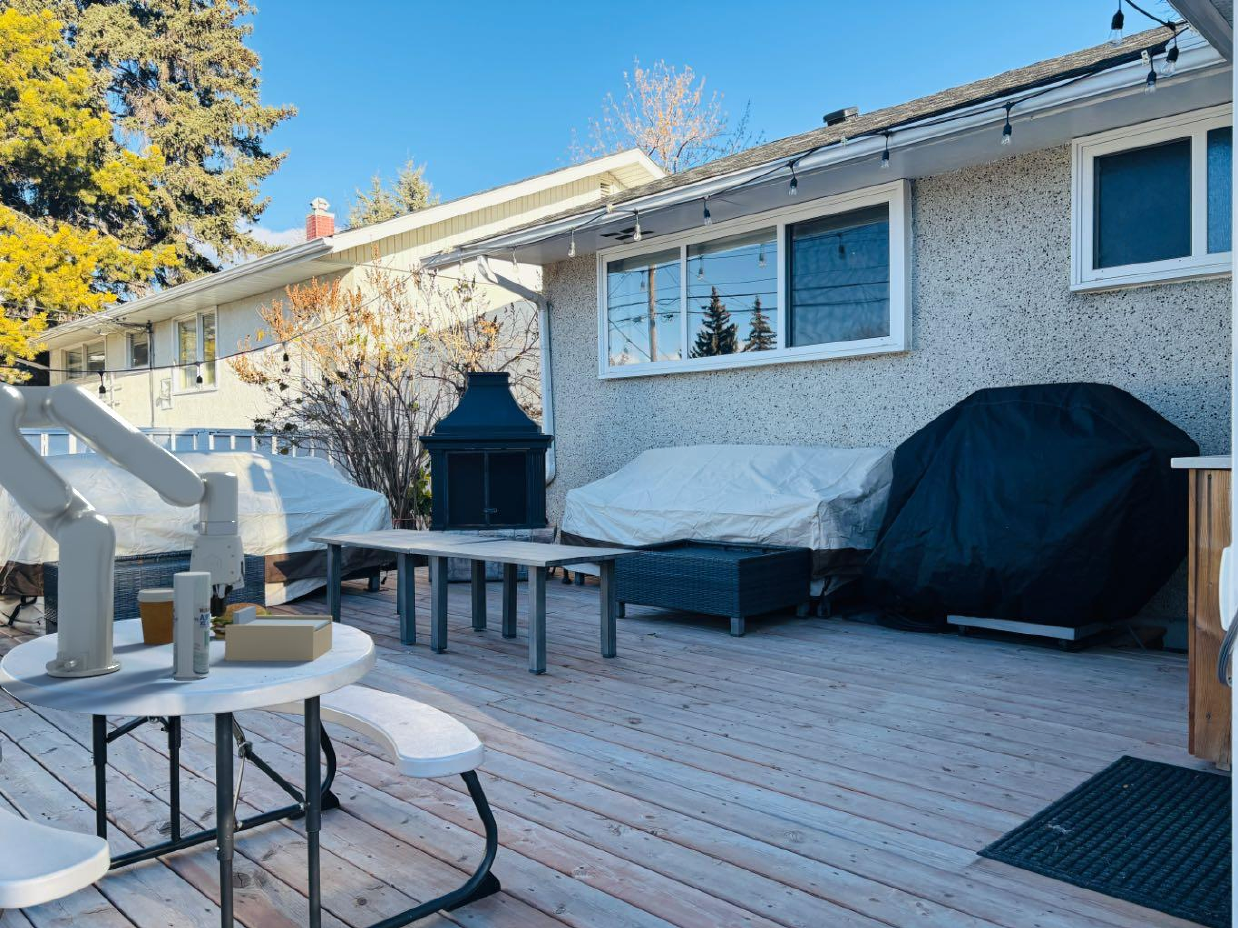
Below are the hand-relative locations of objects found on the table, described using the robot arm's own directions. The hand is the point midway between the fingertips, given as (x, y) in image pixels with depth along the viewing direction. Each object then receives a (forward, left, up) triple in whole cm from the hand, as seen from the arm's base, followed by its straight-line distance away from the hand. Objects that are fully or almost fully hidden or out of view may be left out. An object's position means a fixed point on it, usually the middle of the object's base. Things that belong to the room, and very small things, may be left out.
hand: (217, 615), depth 194 cm
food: (+24, +4, -9) cm, 27 cm away
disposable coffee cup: (+16, +20, -9) cm, 28 cm away
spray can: (-19, -3, -9) cm, 21 cm away
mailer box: (0, -13, -9) cm, 16 cm away
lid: (0, -13, -2) cm, 13 cm away
